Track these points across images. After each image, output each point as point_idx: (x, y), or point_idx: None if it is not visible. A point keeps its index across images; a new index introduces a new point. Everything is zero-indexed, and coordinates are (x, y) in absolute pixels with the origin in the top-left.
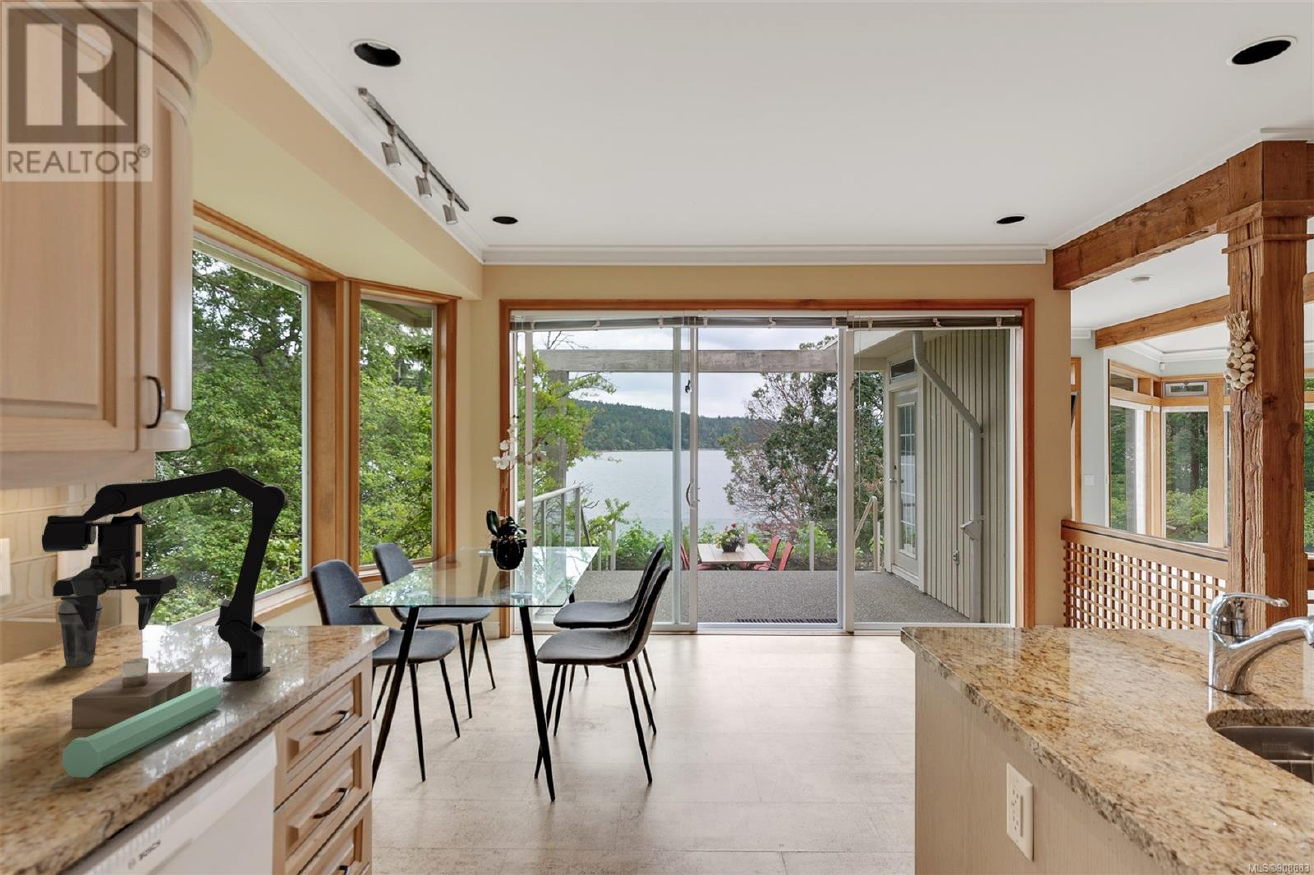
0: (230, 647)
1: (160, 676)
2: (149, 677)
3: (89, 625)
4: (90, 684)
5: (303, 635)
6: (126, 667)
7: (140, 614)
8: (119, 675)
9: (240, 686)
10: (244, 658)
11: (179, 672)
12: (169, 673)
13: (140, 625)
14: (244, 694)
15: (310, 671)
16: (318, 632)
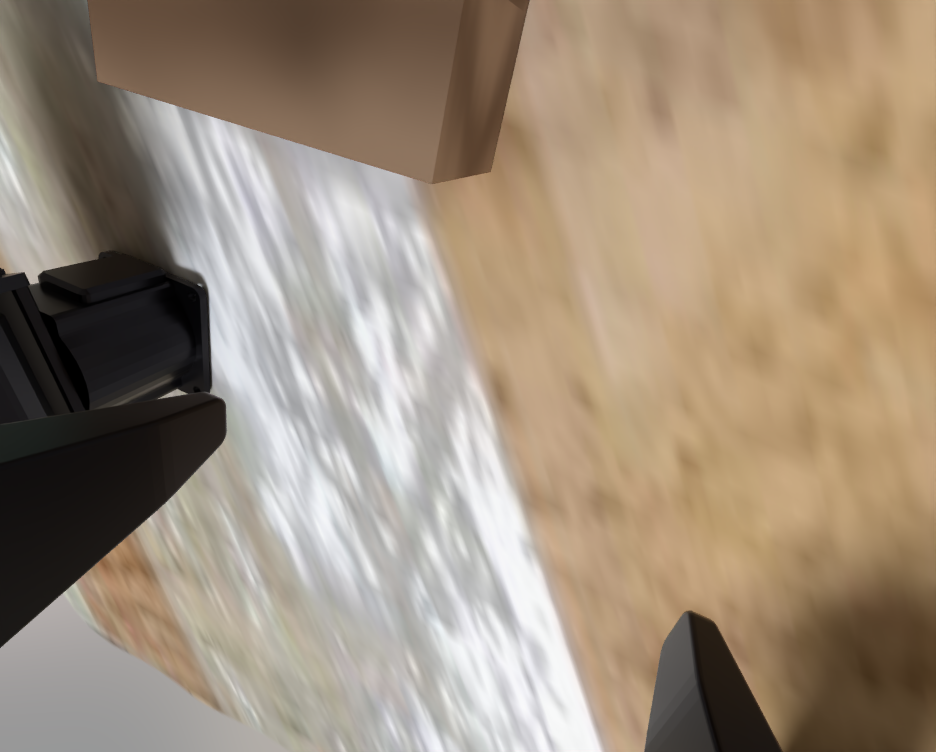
0: (3, 279)
1: (195, 26)
2: (245, 25)
3: (684, 671)
4: (715, 497)
5: (195, 639)
6: None
7: (14, 448)
8: (435, 143)
9: (123, 194)
10: (41, 273)
11: (145, 87)
12: (181, 82)
13: (163, 402)
14: (63, 79)
15: None
16: (172, 642)
